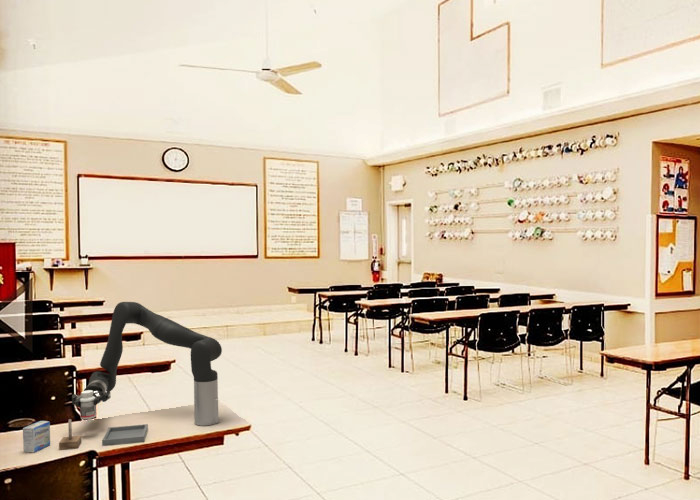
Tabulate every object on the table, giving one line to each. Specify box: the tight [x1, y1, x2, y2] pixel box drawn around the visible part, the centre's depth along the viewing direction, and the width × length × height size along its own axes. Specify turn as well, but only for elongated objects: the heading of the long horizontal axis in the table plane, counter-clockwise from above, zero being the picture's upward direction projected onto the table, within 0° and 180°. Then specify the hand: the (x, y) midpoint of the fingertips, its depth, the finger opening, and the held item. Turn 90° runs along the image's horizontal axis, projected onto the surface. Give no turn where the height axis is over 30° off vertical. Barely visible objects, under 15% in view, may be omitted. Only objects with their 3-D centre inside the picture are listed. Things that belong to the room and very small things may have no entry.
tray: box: [101, 423, 149, 447], centre depth 206 cm, size 14×14×2 cm
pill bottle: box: [79, 390, 97, 420], centre depth 206 cm, size 5×5×10 cm
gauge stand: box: [58, 418, 82, 451], centre depth 197 cm, size 6×6×10 cm
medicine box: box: [22, 420, 51, 454], centre depth 195 cm, size 8×4×9 cm, turn 168°
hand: (86, 403), depth 204 cm, fingers closed on pill bottle, 5 cm apart
